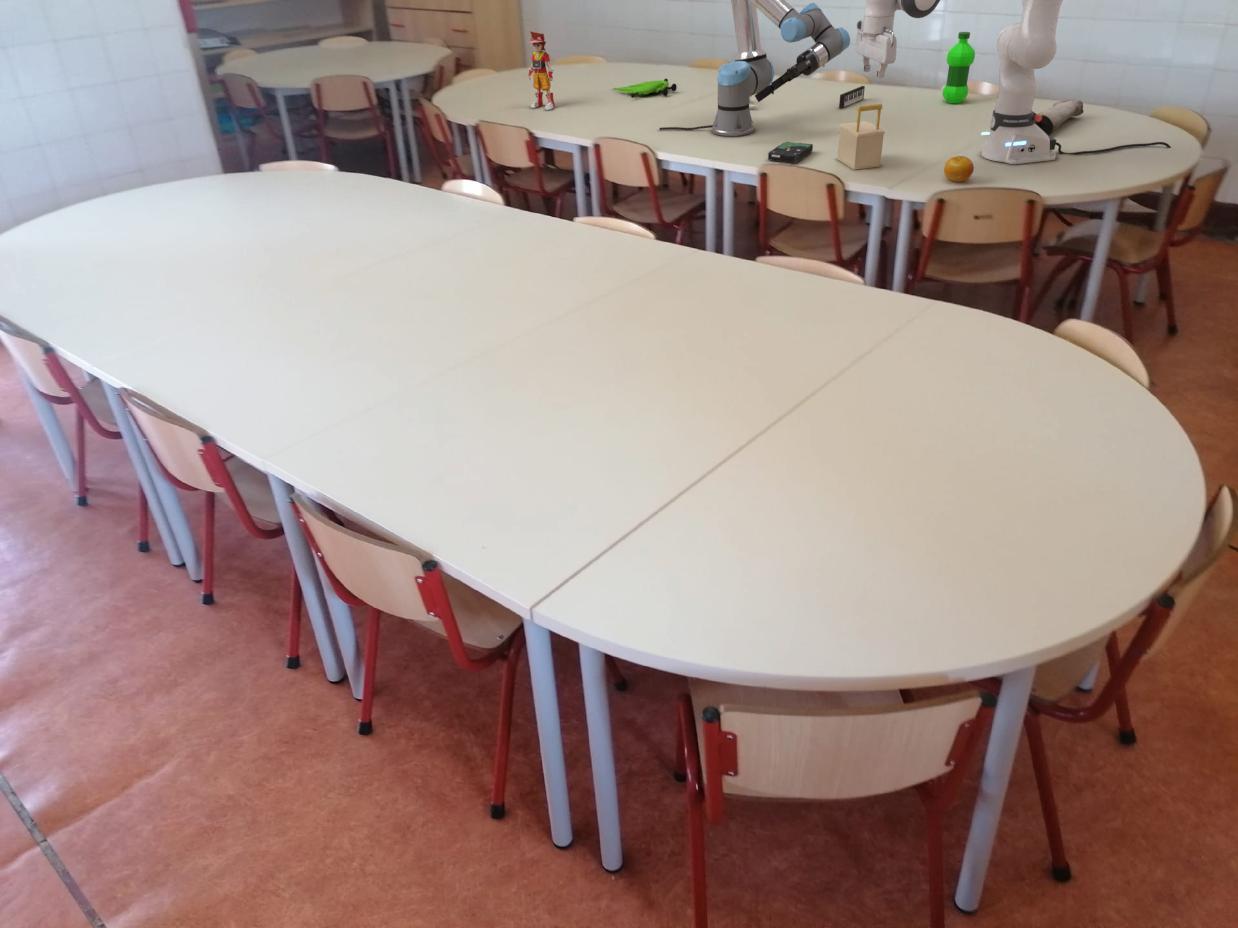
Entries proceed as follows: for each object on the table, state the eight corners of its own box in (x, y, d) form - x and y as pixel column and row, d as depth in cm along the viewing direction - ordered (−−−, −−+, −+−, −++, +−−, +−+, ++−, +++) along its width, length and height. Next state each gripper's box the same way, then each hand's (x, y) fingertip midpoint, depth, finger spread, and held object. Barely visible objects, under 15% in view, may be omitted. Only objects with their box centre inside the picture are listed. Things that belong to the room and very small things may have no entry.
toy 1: (525, 109, 381) (517, 32, 364) (534, 104, 388) (527, 28, 371) (550, 110, 377) (543, 32, 360) (559, 105, 384) (553, 28, 367)
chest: (880, 166, 293) (883, 133, 287) (854, 169, 291) (857, 136, 285) (862, 156, 303) (865, 124, 297) (837, 159, 302) (840, 127, 296)
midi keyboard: (841, 108, 355) (842, 95, 352) (838, 108, 356) (840, 94, 353) (863, 99, 366) (865, 86, 363) (860, 98, 366) (862, 86, 364)
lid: (884, 133, 286) (887, 105, 281) (858, 137, 285) (860, 109, 280) (865, 123, 297) (868, 96, 292) (840, 127, 296) (842, 99, 291)
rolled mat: (1050, 105, 332) (1075, 87, 323) (1064, 125, 332) (1089, 108, 324) (1018, 127, 314) (1043, 109, 306) (1032, 149, 315) (1057, 131, 306)
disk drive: (796, 164, 299) (812, 151, 309) (796, 156, 298) (813, 143, 308) (767, 161, 304) (784, 148, 314) (767, 152, 302) (785, 140, 312)
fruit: (938, 171, 273) (955, 148, 270) (938, 174, 281) (955, 151, 278) (961, 187, 272) (979, 164, 269) (961, 189, 280) (978, 166, 277)
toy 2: (686, 85, 398) (631, 84, 414) (685, 72, 395) (629, 72, 411) (651, 104, 381) (596, 103, 397) (650, 92, 378) (594, 91, 394)
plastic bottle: (973, 101, 354) (984, 32, 339) (955, 106, 349) (966, 36, 335) (952, 97, 361) (962, 29, 346) (934, 102, 356) (944, 33, 342)
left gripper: (834, 57, 299) (786, 91, 296) (800, 81, 323) (755, 113, 320) (823, 37, 297) (774, 71, 294) (789, 62, 321) (744, 94, 318)
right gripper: (904, 30, 262) (898, 80, 270) (872, 19, 279) (868, 67, 287) (884, 32, 261) (879, 82, 269) (853, 21, 278) (849, 69, 286)
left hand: (764, 93), depth 307 cm, fingers open, 13 cm apart
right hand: (873, 74), depth 278 cm, fingers open, 8 cm apart
